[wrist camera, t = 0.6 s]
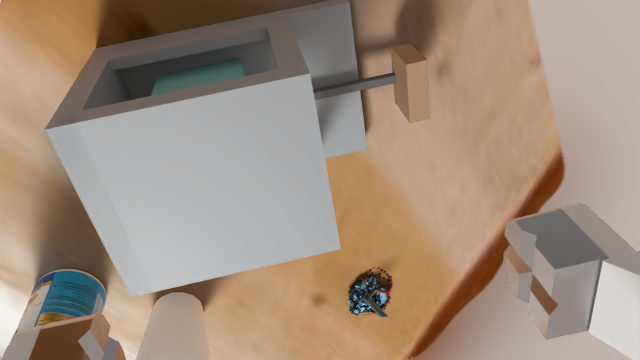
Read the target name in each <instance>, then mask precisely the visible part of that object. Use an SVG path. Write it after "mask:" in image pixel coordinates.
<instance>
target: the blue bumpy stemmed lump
mask: <svg viewBox="0 0 640 360" xmlns="http://www.w3.org/2000/svg"><path fill="white" fill-rule="evenodd" d="M373 269H375V268H374V267H373ZM377 269H380V268H377ZM380 271H383V269H381V270H380ZM370 272H371V275H370V276H368V277H367V275H366V274H364V275H361V276H360V278H359V279H358V280H357V282H356V283H355V285H353V286H352V288H351V289H350V290H349V291H348V293H350V295H349V296H350V298H349V303H350V310H349V311H351V313H352V314H355V315H357V316H358V314H359V313H362V312H372V313H371V314H377V315H378V316H379V317H388V316H387V315H386V314H385V313H384V312H383V311H382V310H385V308H386V305H388V304H389V303H390V301H389V300H390V299H391V297H390V294H389V292H390V291H391V290H390V289H391V288H392V283H391V282H392V281H391V276H389V274H388V273H387V274H386V276H388V279H386V280H388V281H387V288H381V287H380V285H379V284H380V282H379V281H378V278H381V273H379V274H378V275H376V274H374V273H373V272H372V269H370ZM383 273H386V271H384V272H383ZM378 276H379V277H378ZM383 279H385V277H383ZM366 315H370V314H366Z"/></svg>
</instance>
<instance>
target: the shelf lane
mask: <svg viewBox="0 0 640 360" xmlns="http://www.w3.org/2000/svg"><path fill="white" fill-rule="evenodd" d="M238 58H241V61H242V65H243V69H244V73H245V76H244V77H239V78H234V79H229V80H225V81H220V82H215V83H210V84H206V85H201V86H196V87H191V88H187V89H182V90H177V91H172V92H168V93H163V94H158V95H153V96H151V95H152V91H153V87H154V84H155V80H156V77H157V75H161V74H166V73H171V72H176V71H181V70H185V69H190V68H195V67H200V66H205V65H209V64H214V63H219V62H224V61H229V60H233V59H238ZM356 80H359V78H358V69H357V61H356V53H355V44H354V36H353V28H352V19H351V11H350V3H349V1H348V0H329V1H324V2H319V3H314V4H309V5H304V6H299V7H295V8H290V9H285V10H280V11H275V12H270V13H265V14H260V15H255V16H250V17H246V18H241V19H236V20H231V21H226V22H221V23H216V24H211V25H206V26H202V27H197V28H192V29H187V30H182V31H177V32H172V33H167V34H162V35H157V36H153V37H148V38H143V39H138V40H133V41H128V42H123V43H118V44H113V45H109V46H104V47H99V48H96V49H95V50H94V52H93V53H92V55H91V56H90V58H89V60H88V61H87V63H86V64H85V66H84V68H83V69H82V71H81V72H80V74H79V76H78V77H77V79H76V80H75V82H74V83H73V85H72V87H71V88H70V90H69V91H68V93H67V95H66V96H65V98H64V99H63V101H62V103H61V104H60V106H59V107H58V109H57V111H56V112H55V114H54V115H53V117H52V118H51V120H50V122H49V123H48V125H47V126H46V128H45V132H46V134H47V136H48V138H49V139H50V141H51V143H52V145H53V147H54V149H55V151H56V153H57V155H58V157H59V159H60V161H61V163H62V165H63V167H64V169H65V171H66V173H67V175H68V176H69V178H70V180H71V182H72V184H73V186H74V188H75V190H76V192H77V194H78V196H79V198H80V200H81V202H82V204H83V206H84V208H85V210H86V212H87V214H88V215H89V217H90V219H91V221H92V223H93V225H94V227H95V229H96V231H97V233H98V235H99V237H100V239H101V241H102V243H103V245H104V247H105V249H106V251H107V252H108V254H109V256H110V258H111V260H112V262H113V264H114V266H115V268H116V270H117V272H118V274H119V276H120V278H121V280H122V282H123V284H124V286H125V288H126V290H127V291H128V293H129V295H130V297H135V296H139V295H144V294H148V293H152V292H157V291H161V290H165V289H170V288H174V287H178V286H183V285H187V284H191V283H196V282H200V281H204V280H209V279H213V278H217V277H222V276H226V275H230V274H235V273H239V272H243V271H248V270H252V269H256V268H261V267H265V266H269V265H274V264H278V263H282V262H287V261H291V260H295V259H300V258H304V257H308V256H313V255H317V254H321V253H326V252H330V251H334V250H339V249H341V247H340V241H339V236H338V230H337V224H336V219H335V213H334V207H333V202H332V196H331V190H330V184H329V179H328V173H327V167H326V162H325V158H330V157H334V156H339V155H343V154H348V153H352V152H357V151H361V150H366V149H367V144H366V136H365V127H364V119H363V111H362V102H361V94H360V91H356V92H351V93H346V94H342V95H337V96H332V97H328V98H323V99H319V100H315V99H314V93H313V90H314V89H318V88H323V87H328V86H333V85H337V84H342V83H347V82H351V81H356Z"/></svg>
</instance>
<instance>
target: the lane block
mask: <svg viewBox="0 0 640 360" xmlns="http://www.w3.org/2000/svg"><path fill="white" fill-rule="evenodd" d="M391 57H392V69H393V73H389V74H384V75H379V76H375V77H370V78H365V79H361V80H356V81H351V82H347V83H342V84H337V85H333V86H328V87H323V88H318V89H314V90H313V93H314V99H315V100H319V99H323V98H328V97H332V96H337V95H342V94H346V93H351V92H356V91H360V90H365V89H370V88H374V87H379V86H384V85H388V84H393V83H394V94H395V103H396V104H397V106H398V107H399V108H400V110H401V111H402V113H403V114H404V116H405V117H406V118H407V120H408V121H409V123H413V122H418V121H422V120H427V119H430V111H429V86H428V61H427V59H426V58H425V57H424V56H423V55H422V54H421V53H420V52H419V51H418V50H417V49H416V48H415V47H414V46H413V45H412V44H411V43H408V44H403V45H398V46H393V47H391ZM244 76H245V73H244V69H243V65H242V61H241V58H238V59H233V60H229V61H224V62H219V63H214V64H209V65H205V66H200V67H195V68H190V69H185V70H181V71H176V72H171V73H166V74H161V75H157V77H156V80H155V84H154V87H153V91H152V95H151V96H153V95H158V94H163V93H168V92H172V91H177V90H182V89H187V88H191V87H196V86H201V85H206V84H210V83H215V82H220V81H225V80H229V79H234V78H239V77H244Z"/></svg>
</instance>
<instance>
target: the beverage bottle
mask: <svg viewBox="0 0 640 360" xmlns="http://www.w3.org/2000/svg"><path fill="white" fill-rule="evenodd" d="M105 301H106V291H105V288H104V286H103V285H102V283H101V282H100V281H99V280H98V279H97V278H96V277H94V276H93V275H91V274H89V273H87V272H84V271H81V270H76V269H59V270H55V271H52V272H49V273H47V274H45V275H44V276H43V277H41V278H40V279H39V280H38V281H37V283H36V284H35V286H34V289H33V291H32V294H31V298H30V300H29V302H28V305H27V307H26V309H25V311H24V314H23V316H22V318H21V321H20V323H19V325H18V327H17V330H16V332H15V334H16V333H17V332H18V331H19V330H21V329H26V328H31V327H36V326H41V325H46V324H48V323H53V322H58V321H63V320H68V319H73V318H78V317H83V316H88V315H92V314H102V312H103V308H104V305H105ZM15 334H14V335H15ZM8 346H9V345H8ZM7 348H8V347H7ZM7 348H6V350H5V353H6V351H7ZM5 353H4V355H5ZM3 357H4V356H3ZM2 360H3V359H2Z"/></svg>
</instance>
